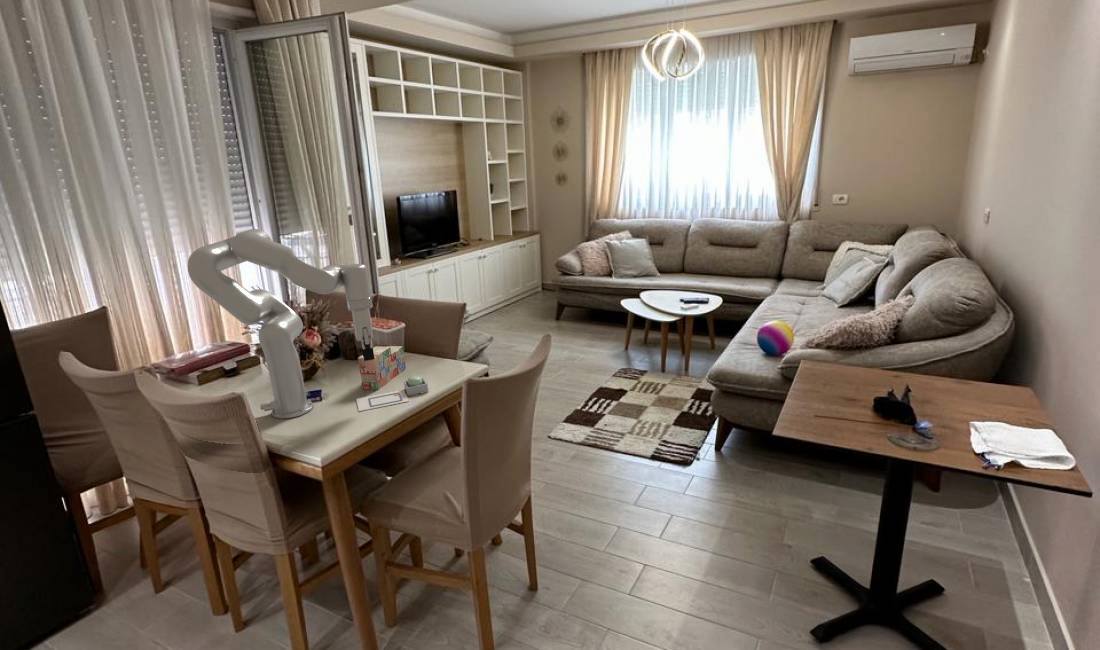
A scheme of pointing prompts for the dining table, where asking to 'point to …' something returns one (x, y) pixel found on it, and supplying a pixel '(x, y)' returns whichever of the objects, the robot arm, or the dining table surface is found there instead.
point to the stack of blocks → (382, 367)
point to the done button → (415, 381)
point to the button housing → (416, 388)
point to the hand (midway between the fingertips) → (368, 357)
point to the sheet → (381, 400)
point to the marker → (370, 362)
